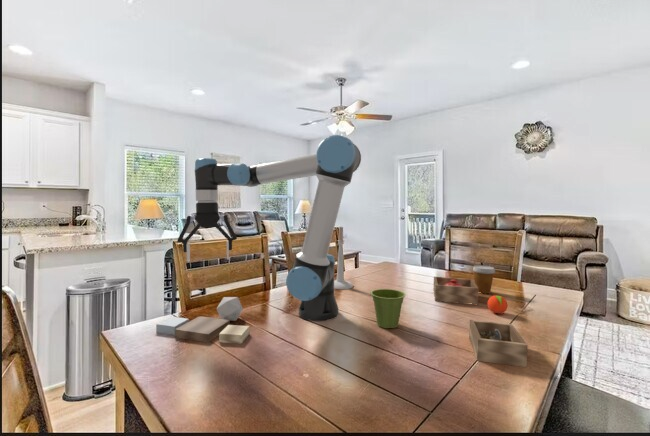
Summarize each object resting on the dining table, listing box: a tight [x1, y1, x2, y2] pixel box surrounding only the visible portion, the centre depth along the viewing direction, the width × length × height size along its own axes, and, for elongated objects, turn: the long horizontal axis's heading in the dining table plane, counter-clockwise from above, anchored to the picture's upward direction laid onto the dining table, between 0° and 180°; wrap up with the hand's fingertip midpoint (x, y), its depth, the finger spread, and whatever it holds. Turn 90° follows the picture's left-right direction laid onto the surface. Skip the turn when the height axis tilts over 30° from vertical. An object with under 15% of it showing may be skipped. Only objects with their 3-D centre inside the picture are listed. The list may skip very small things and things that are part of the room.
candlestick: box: [334, 226, 354, 291], centre depth 164 cm, size 13×13×30 cm
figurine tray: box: [468, 319, 528, 368], centre depth 96 cm, size 12×15×6 cm
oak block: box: [218, 324, 250, 344], centre depth 104 cm, size 7×7×3 cm
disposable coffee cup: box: [472, 264, 496, 294], centre depth 156 cm, size 10×10×12 cm
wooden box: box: [433, 276, 479, 305], centre depth 148 cm, size 17×16×7 cm
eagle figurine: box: [478, 329, 502, 341], centre depth 96 cm, size 8×8×10 cm
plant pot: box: [370, 288, 406, 329], centre depth 115 cm, size 12×12×11 cm
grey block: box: [155, 316, 190, 336], centre depth 110 cm, size 7×7×3 cm
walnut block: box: [174, 315, 231, 343], centre depth 108 cm, size 12×12×3 cm
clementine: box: [486, 294, 508, 314], centre depth 128 cm, size 8×7×7 cm
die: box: [216, 296, 244, 322], centre depth 119 cm, size 8×9×10 cm
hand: (208, 260), depth 121 cm, fingers open, 13 cm apart
